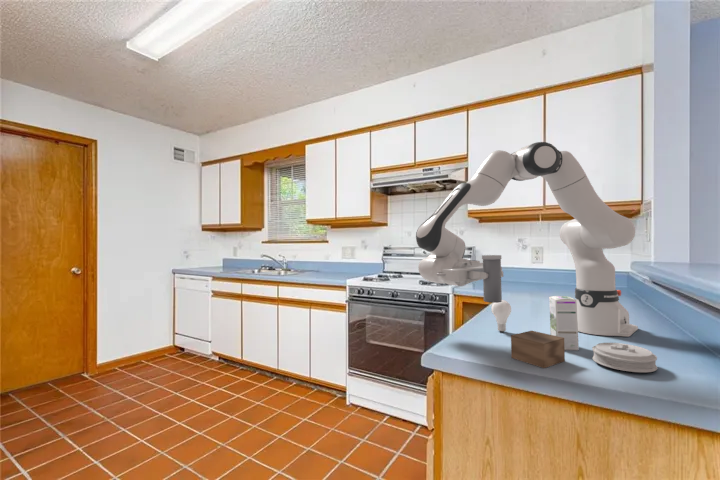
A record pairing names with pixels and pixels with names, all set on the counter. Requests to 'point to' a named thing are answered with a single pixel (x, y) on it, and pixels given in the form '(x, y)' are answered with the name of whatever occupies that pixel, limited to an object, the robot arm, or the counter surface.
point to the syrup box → (564, 320)
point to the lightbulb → (501, 314)
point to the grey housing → (492, 278)
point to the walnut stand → (537, 348)
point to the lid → (624, 357)
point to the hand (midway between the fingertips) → (494, 274)
